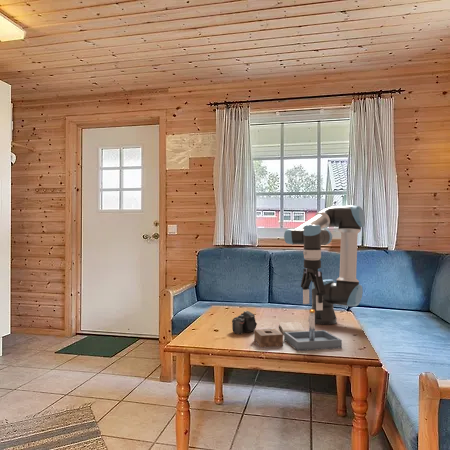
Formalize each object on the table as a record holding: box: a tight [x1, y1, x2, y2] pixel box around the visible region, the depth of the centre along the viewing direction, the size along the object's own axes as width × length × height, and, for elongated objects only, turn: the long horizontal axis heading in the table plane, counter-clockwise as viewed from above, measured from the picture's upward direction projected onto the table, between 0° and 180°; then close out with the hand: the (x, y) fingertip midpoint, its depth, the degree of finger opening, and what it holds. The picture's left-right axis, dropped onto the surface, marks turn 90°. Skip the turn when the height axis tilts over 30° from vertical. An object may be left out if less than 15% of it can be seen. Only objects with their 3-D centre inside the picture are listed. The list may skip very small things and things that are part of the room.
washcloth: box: [278, 321, 307, 335], centre depth 188 cm, size 12×18×3 cm, turn 0°
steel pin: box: [308, 309, 316, 341], centre depth 165 cm, size 2×2×14 cm
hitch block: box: [253, 328, 284, 348], centre depth 164 cm, size 10×10×5 cm
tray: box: [283, 329, 343, 352], centre depth 164 cm, size 20×16×4 cm
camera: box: [231, 310, 258, 335], centre depth 184 cm, size 13×10×10 cm
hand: (312, 306), depth 165 cm, fingers open, 13 cm apart
